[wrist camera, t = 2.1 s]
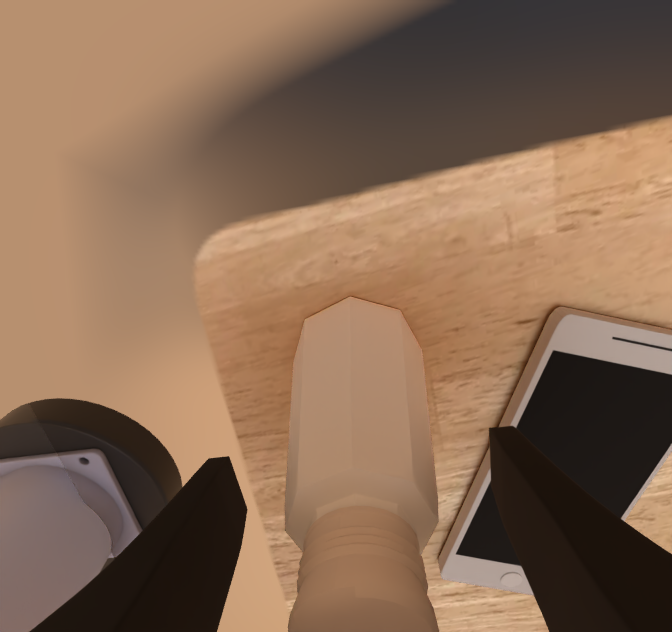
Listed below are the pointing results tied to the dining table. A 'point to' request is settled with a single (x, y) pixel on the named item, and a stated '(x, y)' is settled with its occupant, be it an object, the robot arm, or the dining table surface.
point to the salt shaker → (360, 473)
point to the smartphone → (575, 431)
